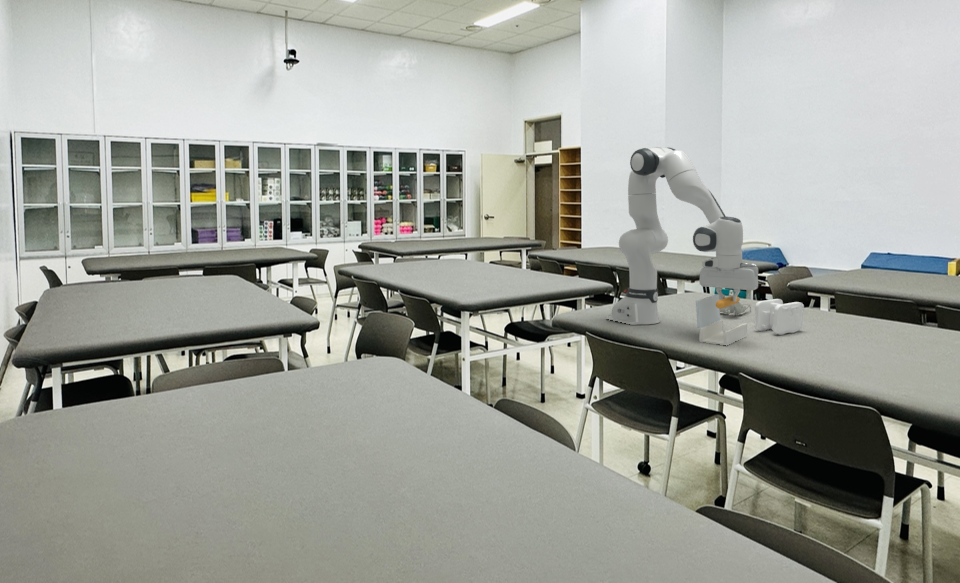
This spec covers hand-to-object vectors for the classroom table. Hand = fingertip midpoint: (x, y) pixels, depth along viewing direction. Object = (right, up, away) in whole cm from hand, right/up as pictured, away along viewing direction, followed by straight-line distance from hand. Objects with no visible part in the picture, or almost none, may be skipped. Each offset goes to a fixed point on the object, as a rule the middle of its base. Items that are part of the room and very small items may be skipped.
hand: (727, 300), depth 230 cm
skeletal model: (+20, -7, +47) cm, 52 cm away
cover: (-5, -4, +5) cm, 8 cm away
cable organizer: (+25, -12, +13) cm, 31 cm away
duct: (0, -14, +3) cm, 15 cm away
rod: (0, -2, 0) cm, 2 cm away
